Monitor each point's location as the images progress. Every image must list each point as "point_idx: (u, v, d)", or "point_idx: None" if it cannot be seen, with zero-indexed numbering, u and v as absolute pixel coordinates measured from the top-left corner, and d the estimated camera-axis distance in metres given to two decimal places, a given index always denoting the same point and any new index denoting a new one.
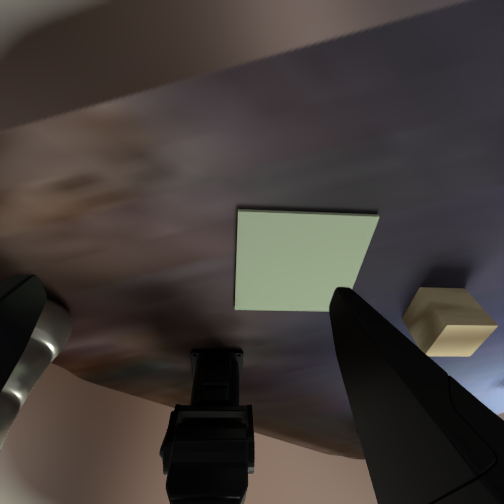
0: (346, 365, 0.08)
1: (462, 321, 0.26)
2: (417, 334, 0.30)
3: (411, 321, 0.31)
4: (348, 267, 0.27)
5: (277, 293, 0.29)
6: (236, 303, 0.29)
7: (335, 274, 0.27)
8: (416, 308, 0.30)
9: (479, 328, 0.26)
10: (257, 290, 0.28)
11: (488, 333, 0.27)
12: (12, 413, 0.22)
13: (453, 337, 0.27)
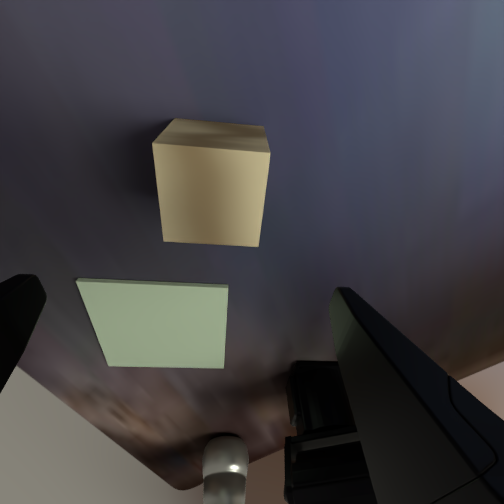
0: (346, 365, 0.08)
1: None
2: None
3: None
4: (151, 294, 0.23)
5: (198, 343, 0.27)
6: (214, 367, 0.30)
7: (163, 303, 0.24)
8: None
9: (166, 181, 0.13)
10: (195, 355, 0.28)
11: (180, 152, 0.12)
12: None
13: (197, 218, 0.14)
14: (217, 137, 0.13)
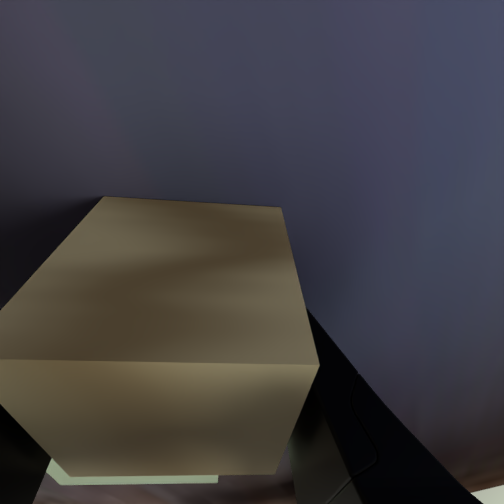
0: None
1: None
2: None
3: None
4: None
5: None
6: (205, 482, 0.22)
7: None
8: None
9: (37, 413, 0.05)
10: None
11: (54, 372, 0.04)
12: None
13: (136, 454, 0.06)
14: (176, 279, 0.05)
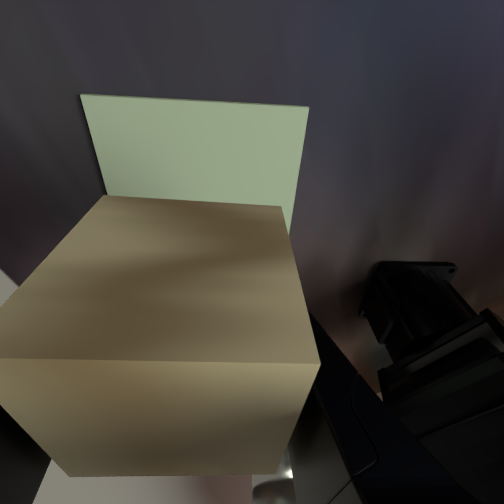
0: None
1: None
2: None
3: None
4: (192, 124, 0.15)
5: None
6: None
7: (209, 144, 0.16)
8: None
9: (36, 413, 0.05)
10: None
11: (52, 371, 0.04)
12: (287, 491, 0.25)
13: (135, 453, 0.06)
14: (176, 278, 0.05)
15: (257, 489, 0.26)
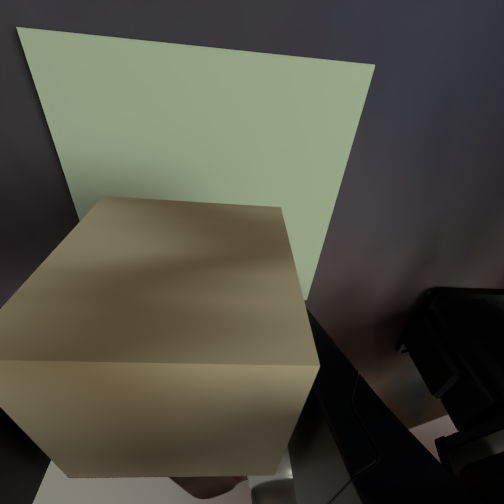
0: None
1: None
2: None
3: None
4: (195, 85, 0.10)
5: None
6: None
7: (219, 118, 0.11)
8: None
9: (36, 414, 0.05)
10: None
11: (52, 373, 0.04)
12: None
13: (136, 454, 0.06)
14: (176, 279, 0.05)
15: None
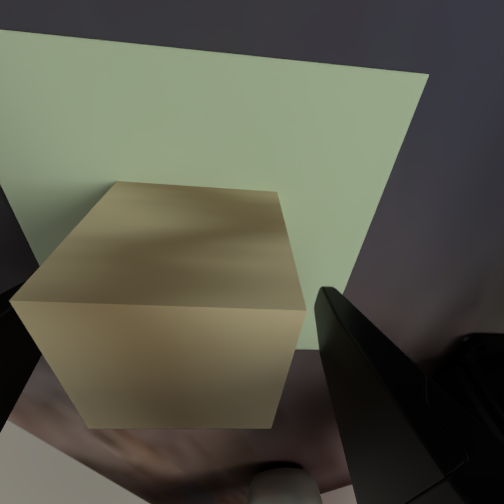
0: (328, 365, 0.08)
1: None
2: None
3: None
4: (182, 102, 0.07)
5: None
6: (302, 347, 0.14)
7: (215, 145, 0.08)
8: None
9: (68, 358, 0.06)
10: None
11: (86, 315, 0.05)
12: None
13: (149, 402, 0.07)
14: (185, 247, 0.06)
15: None
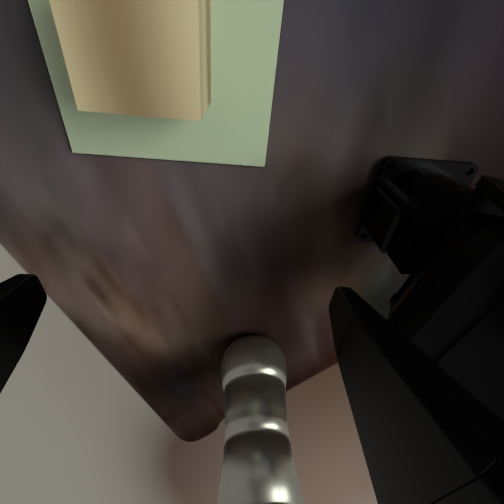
0: (346, 365, 0.08)
1: None
2: None
3: None
4: None
5: (226, 86, 0.15)
6: (249, 163, 0.18)
7: None
8: None
9: (63, 2, 0.09)
10: (219, 126, 0.17)
11: None
12: (265, 443, 0.21)
13: (115, 71, 0.11)
14: None
15: (229, 442, 0.22)
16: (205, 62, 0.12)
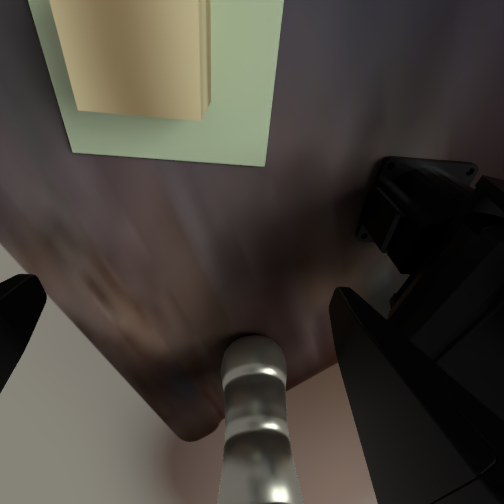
0: (346, 365, 0.08)
1: None
2: None
3: None
4: None
5: (226, 85, 0.15)
6: (249, 163, 0.18)
7: None
8: None
9: (63, 2, 0.09)
10: (219, 126, 0.17)
11: None
12: (265, 443, 0.21)
13: (115, 71, 0.11)
14: None
15: (229, 442, 0.22)
16: (205, 62, 0.12)
